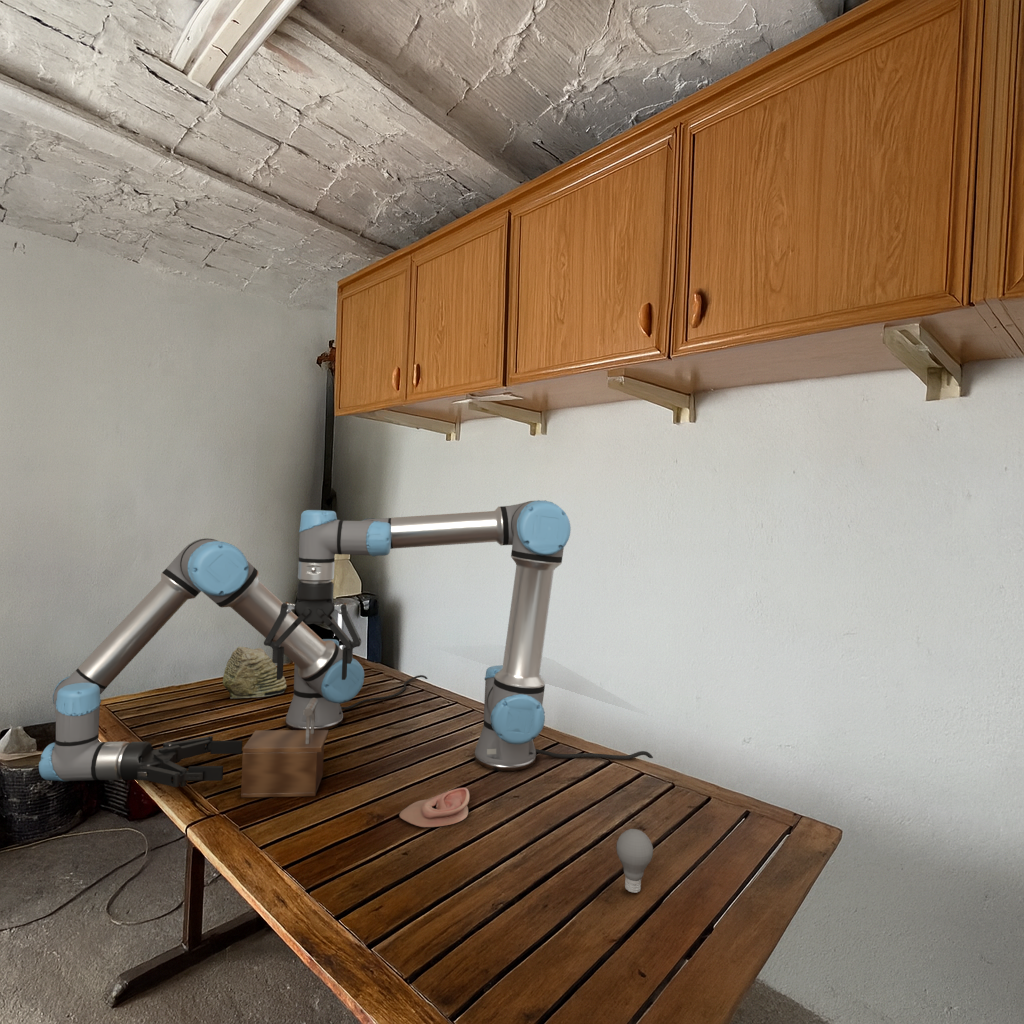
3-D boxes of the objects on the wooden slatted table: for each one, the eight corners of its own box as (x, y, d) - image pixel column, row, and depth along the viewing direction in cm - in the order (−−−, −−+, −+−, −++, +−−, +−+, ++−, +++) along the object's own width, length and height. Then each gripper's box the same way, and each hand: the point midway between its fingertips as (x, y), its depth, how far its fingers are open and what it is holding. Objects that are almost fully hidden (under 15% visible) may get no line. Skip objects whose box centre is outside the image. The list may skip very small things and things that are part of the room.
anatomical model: (393, 802, 124) (414, 778, 135) (393, 823, 124) (413, 796, 135) (459, 812, 121) (474, 786, 132) (458, 833, 121) (473, 805, 133)
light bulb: (610, 879, 108) (613, 822, 108) (644, 879, 109) (647, 822, 109) (619, 902, 102) (622, 840, 102) (655, 901, 103) (658, 840, 103)
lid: (328, 734, 144) (329, 695, 144) (321, 752, 134) (322, 710, 134) (255, 734, 142) (256, 695, 142) (242, 752, 132) (244, 710, 132)
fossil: (218, 695, 195) (220, 647, 195) (278, 685, 208) (279, 640, 207) (228, 703, 189) (230, 653, 188) (289, 692, 201) (290, 645, 201)
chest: (322, 775, 144) (324, 734, 144) (315, 796, 134) (317, 752, 134) (253, 776, 142) (255, 735, 142) (240, 797, 132) (242, 753, 132)
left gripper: (151, 754, 146) (248, 753, 148) (95, 807, 121) (212, 804, 124) (152, 722, 145) (249, 721, 148) (96, 768, 121) (213, 766, 124)
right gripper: (251, 581, 132) (247, 682, 133) (372, 584, 136) (369, 683, 136) (260, 577, 140) (256, 672, 140) (375, 580, 143) (371, 673, 144)
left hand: (232, 759), depth 136 cm, fingers open, 13 cm apart
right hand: (312, 678), depth 138 cm, fingers open, 13 cm apart
